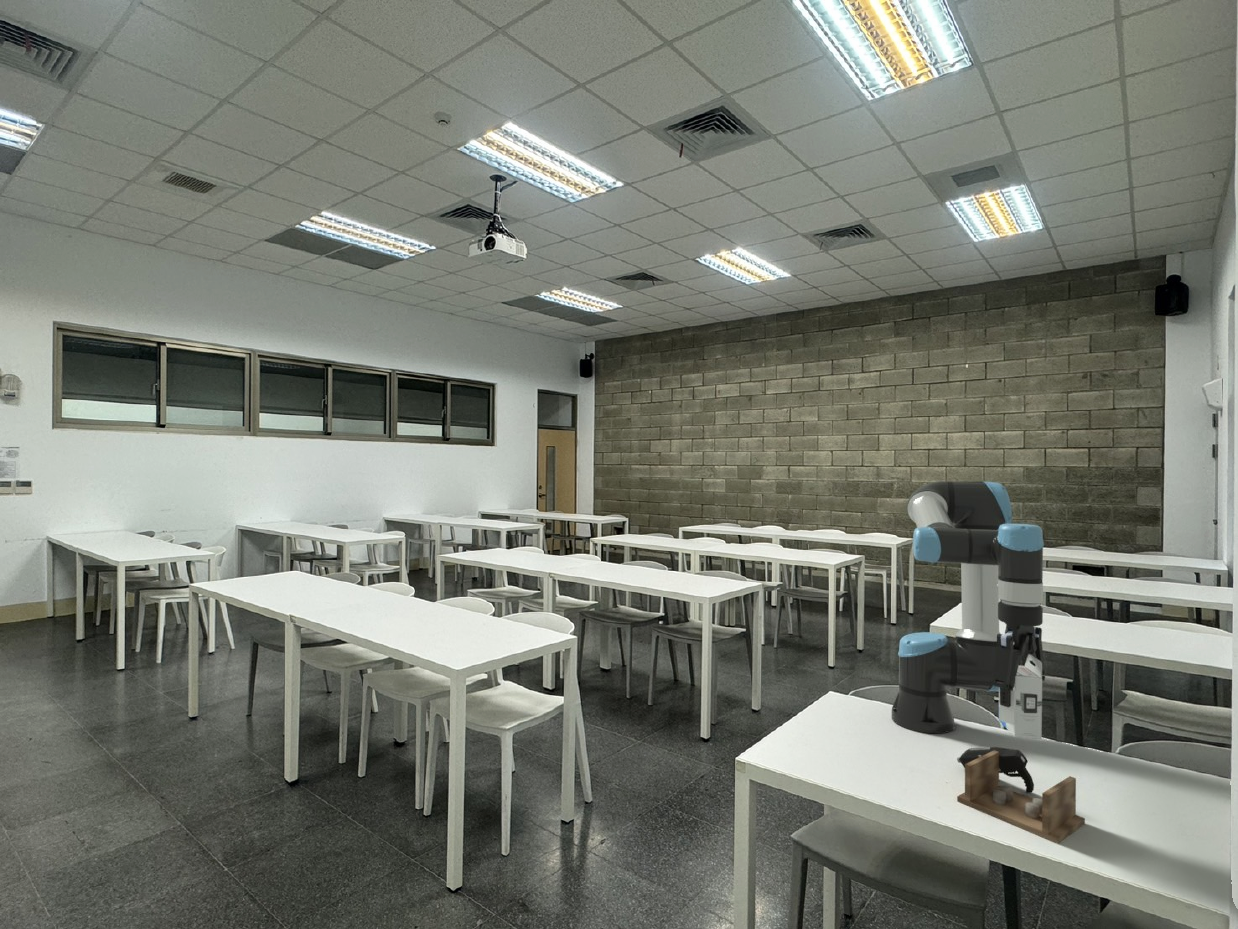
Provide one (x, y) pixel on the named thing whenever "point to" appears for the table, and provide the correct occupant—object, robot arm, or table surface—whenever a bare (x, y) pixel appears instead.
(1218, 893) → the table surface
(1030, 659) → the ink box
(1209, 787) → the table surface
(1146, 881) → the table surface
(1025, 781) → the gun
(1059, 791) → the peg cradle
